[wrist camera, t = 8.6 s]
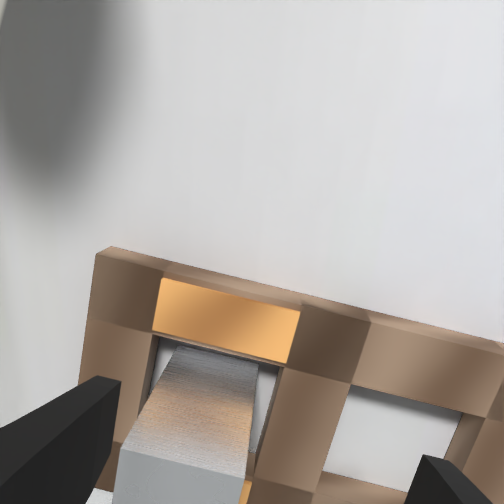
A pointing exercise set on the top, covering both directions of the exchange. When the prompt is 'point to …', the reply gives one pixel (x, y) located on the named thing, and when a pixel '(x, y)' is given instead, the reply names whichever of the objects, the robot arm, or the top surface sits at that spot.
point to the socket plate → (292, 371)
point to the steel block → (190, 433)
